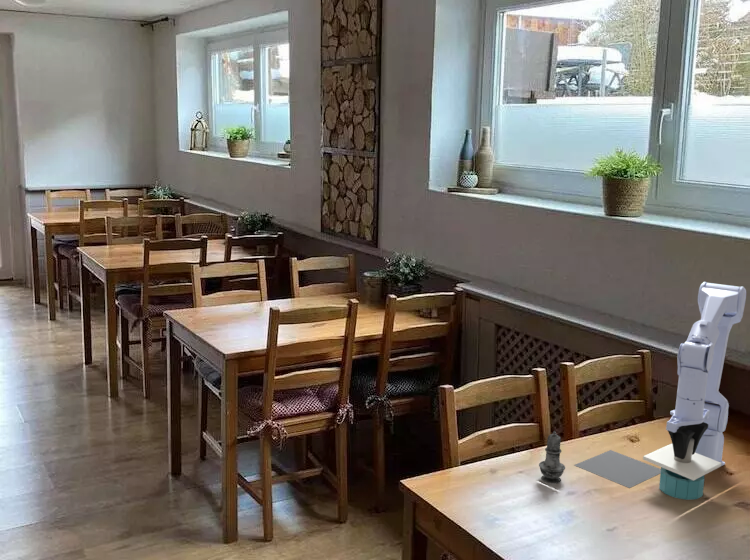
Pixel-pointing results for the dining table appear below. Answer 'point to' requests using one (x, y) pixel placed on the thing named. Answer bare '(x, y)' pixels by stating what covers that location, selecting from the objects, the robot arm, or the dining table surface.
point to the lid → (683, 462)
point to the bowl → (680, 485)
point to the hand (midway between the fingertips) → (684, 455)
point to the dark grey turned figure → (552, 461)
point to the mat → (619, 468)
